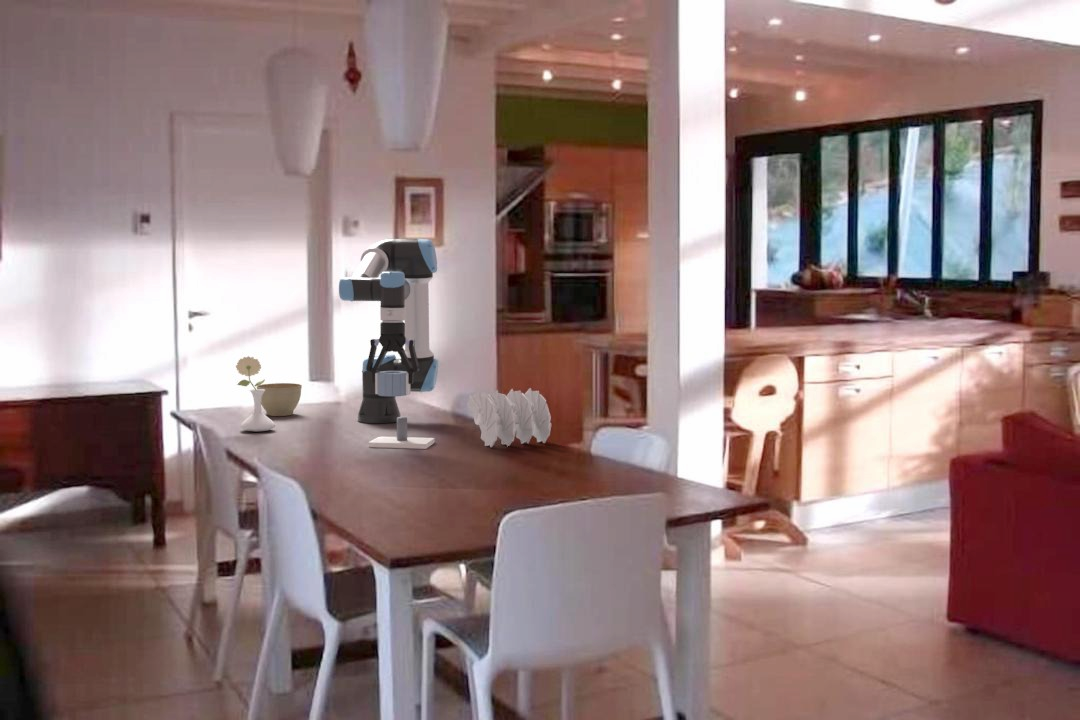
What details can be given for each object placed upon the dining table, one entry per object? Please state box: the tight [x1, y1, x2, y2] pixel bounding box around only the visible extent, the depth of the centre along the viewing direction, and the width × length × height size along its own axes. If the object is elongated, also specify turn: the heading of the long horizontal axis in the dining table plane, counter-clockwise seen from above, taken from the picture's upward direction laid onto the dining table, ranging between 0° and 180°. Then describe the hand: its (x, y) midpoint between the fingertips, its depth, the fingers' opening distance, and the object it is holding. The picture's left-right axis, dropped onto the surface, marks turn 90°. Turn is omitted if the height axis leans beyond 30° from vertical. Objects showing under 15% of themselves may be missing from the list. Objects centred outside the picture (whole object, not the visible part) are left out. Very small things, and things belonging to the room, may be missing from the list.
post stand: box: [368, 416, 436, 450], centre depth 368 cm, size 12×18×8 cm, turn 83°
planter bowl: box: [256, 382, 303, 417], centre depth 435 cm, size 16×16×11 cm
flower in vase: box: [235, 356, 276, 433], centre depth 394 cm, size 13×11×25 cm
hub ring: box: [378, 371, 408, 397], centre depth 368 cm, size 9×9×7 cm
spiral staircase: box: [466, 387, 552, 448], centre depth 370 cm, size 18×18×25 cm
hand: (392, 393), depth 368 cm, fingers closed on hub ring, 9 cm apart
